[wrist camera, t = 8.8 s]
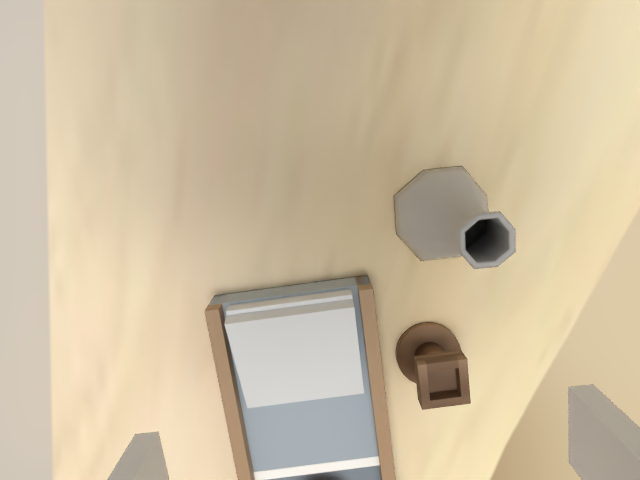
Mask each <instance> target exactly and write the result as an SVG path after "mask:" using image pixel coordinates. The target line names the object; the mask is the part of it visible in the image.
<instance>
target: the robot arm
mask: <svg viewBox="0 0 640 480" xmlns="http://www.w3.org/2000/svg"><path fill="white" fill-rule="evenodd" d="M568 389H569V391H568V392H569V393H568V394H569V463H570V465H571V466H572V467H573V469H574V470H575V471H576V473H577V474H578V475H579V477H580V478H581V479H582V480H640V427H639V426H638V425H637V424H635V423H634V422H633V421H632V420H631V419H630V418H629V417H628V416H627V415H626V414H625V413H624V412H623V411H622V410H620V409H619V408H618V407H617V406H616V405H615V404H614V403H613V402H612V401H611V400H610V399H608V398H607V397H606V396H605V395H604V394H603V393H602V392H601V391H600V390H599V389H598V388H597V387H596V386H594V385H593V384H590V385H581V386H572V387H569V388H568ZM108 480H169V476H168V471H167V467H166V462H165V458H164V454H163V449H162V445H161V441H160V436H159V432H151V433H142V434H135V435H134V437H133V439H132V440H131V442H130V443H129V445H128V447H127V448H126V450H125V452H124V453H123V455H122V457H121V458H120V460H119V462H118V463H117V465H116V466H115V468H114V470H113V471H112V473H111V475H110V476H109V478H108Z"/></svg>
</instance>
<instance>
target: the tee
mask: <svg viewBox="0 0 640 480" xmlns="http://www.w3.org/2000/svg"><path fill="white" fill-rule="evenodd" d="M396 358H397V362H398V365H399V367H400V369H401V371H402V373H403V374H404V375H405V376H406V377H407V378H408V379H409V380H411V381H412V382H415V383H416V384H417V393H418V400H419V403H420V405H421V408H422V410H423V409H431V408H439V407H447V406H455V405H462V404H470V403H471V402H470V389H469V376H468V364H467V358H466V357H465V355H464V354H463V352H462V351H461V349H460V345H459V343H458V341H457V339H456V338H455V336H454V335H453V334H452V332H451V331H450V330H448V329H447V328H446V327H444V326H442V325H440V324H437V323H430V322H427V323H420V324H417V325H415V326H412V327H411V328H409V329H408V330H407V331H406V332H405V333H404V334H403V335H402V336H401V338H400V339H399V341H398V344H397V347H396Z"/></svg>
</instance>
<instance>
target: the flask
mask: <svg viewBox="0 0 640 480" xmlns="http://www.w3.org/2000/svg"><path fill="white" fill-rule="evenodd" d="M394 203H395V218H396V234H397V235H398V236H399V237H400V238H401V239H402V240H403V242H404V243H405V244H406V245H407V246H408V247H409V248H410V249H411V251H412V252H413V253H414V254H415V255H416V256H417V257H418V258H419V259H420V261H424V260H435V259H445V258H455V257H461V256H463V257H464V258H465V259H466V260H467V261H468V263H469V264H470V265H471V266H472V267H473V268H474V269H479V268H489V267H498V266H499V265H500V264H501V263H502V262H504V261H505V260H506V259H507V258H508V257H510V256H511V255H512V254H513V253H514V252H515V228H514V227H513V226H512V225H511V224H510V222H509V221H508V220H507V219H506V218H505V217H504V215H503V214H502V213H501V212H500V211H499V212H489V210H488V203H487V195H486V194H485V192H484V191H483V190H482V189H481V188H480V186H479V185H478V184H477V183H476V182H475V181H474V179H473V178H472V177H471V176H470V175H469V173H468V172H467V171H466V170H465V169H464V167H463V166H459V167H449V168H439V169H428V170H423V171H422V172H421V173H420V174H418V175H417V176H416V177H415V178H414V179H413V180H412V181H411V182H409V183H408V184H407V185H406V186H405V187H404V188H403V189H402V190H400V191H399V192H398V193H397V194H396V195H395V196H394Z"/></svg>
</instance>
